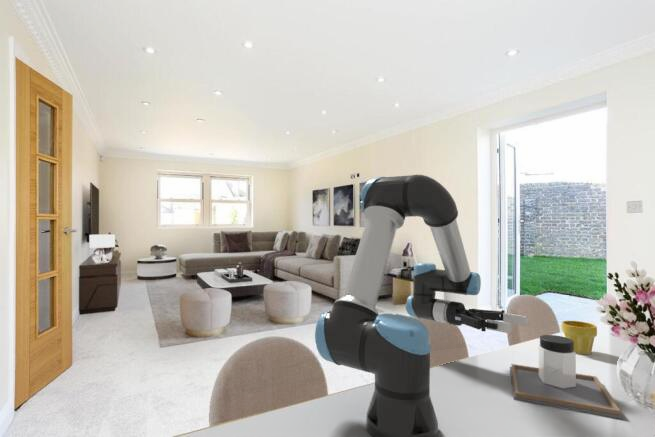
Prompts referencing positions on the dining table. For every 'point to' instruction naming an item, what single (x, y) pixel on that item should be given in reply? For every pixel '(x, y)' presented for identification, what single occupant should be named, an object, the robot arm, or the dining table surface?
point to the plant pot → (580, 335)
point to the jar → (557, 361)
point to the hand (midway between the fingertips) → (518, 324)
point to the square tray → (563, 392)
